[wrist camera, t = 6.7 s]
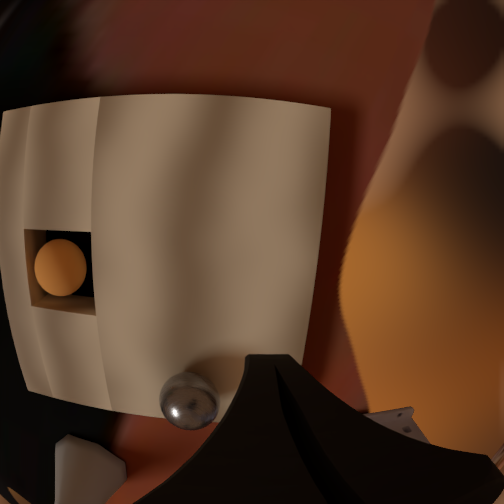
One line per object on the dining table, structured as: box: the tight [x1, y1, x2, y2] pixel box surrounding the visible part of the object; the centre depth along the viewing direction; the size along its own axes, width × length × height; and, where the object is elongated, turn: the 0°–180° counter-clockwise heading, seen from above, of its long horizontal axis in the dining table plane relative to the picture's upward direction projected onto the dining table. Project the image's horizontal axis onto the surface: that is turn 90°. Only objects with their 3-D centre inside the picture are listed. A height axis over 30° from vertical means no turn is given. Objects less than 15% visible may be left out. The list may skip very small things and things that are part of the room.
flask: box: [55, 434, 127, 504], centre depth 16 cm, size 7×7×10 cm
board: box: [0, 94, 331, 422], centre depth 16 cm, size 18×18×2 cm
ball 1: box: [35, 239, 87, 296], centre depth 15 cm, size 3×3×3 cm
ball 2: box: [159, 372, 220, 430], centre depth 15 cm, size 3×3×3 cm
